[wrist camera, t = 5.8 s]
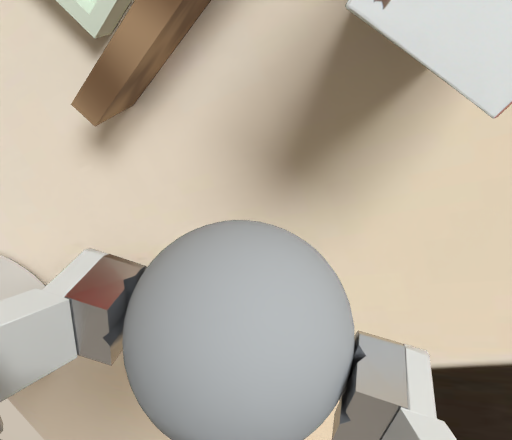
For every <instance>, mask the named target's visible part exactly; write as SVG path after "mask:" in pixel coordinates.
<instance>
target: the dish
mask: <svg viewBox="0 0 512 440" xmlns="http://www.w3.org/2000/svg"><path fill="white" fill-rule="evenodd" d="M56 1H57V2H58V3H59V4H60V5H61V6H62V7H63V8H64V9H65V10H66V11H67V12H68V13H69V14H70V15H71V16H72V17H73V18H74V19H75V20H76V21H77V22H78V23H79V24H80V25H81V26H82V27H83V28H84V29H85V30H86V31H87V32H88V33H89V34H90V35H91V36H92V37H94V38H98V37H102V36H106V35H110V34H112V32H113V30H114V29H115V27H116V25H117V24H118V22H119V20H120V19H121V17H122V16H123V14H124V12H125V11H126V9H127V7H128V6H129V4H130V2H131V1H132V0H56Z"/></svg>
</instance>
